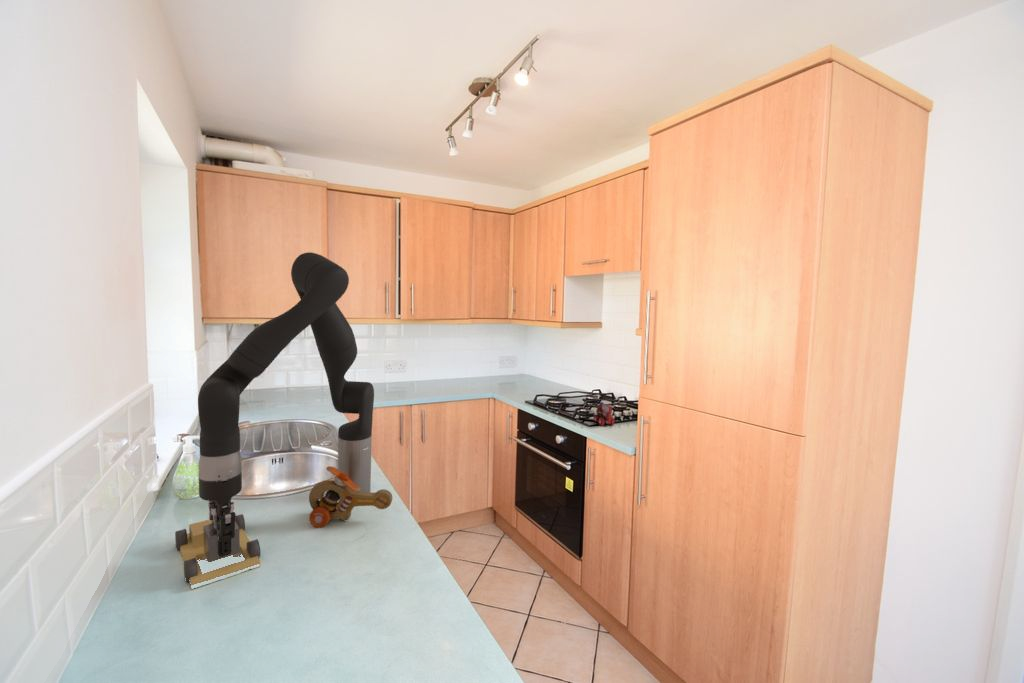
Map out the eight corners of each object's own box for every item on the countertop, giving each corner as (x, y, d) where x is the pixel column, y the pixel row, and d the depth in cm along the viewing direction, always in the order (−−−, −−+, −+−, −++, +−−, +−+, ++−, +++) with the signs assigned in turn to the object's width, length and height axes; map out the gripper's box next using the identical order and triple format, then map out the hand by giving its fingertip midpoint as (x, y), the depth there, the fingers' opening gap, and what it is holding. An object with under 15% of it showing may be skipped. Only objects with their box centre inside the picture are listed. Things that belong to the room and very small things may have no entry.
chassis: (174, 543, 101) (174, 524, 101) (240, 525, 110) (240, 507, 109) (188, 591, 86) (187, 569, 85) (262, 566, 95) (262, 546, 94)
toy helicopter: (315, 512, 118) (315, 462, 117) (394, 512, 120) (395, 464, 119) (303, 528, 110) (304, 475, 109) (388, 528, 112) (390, 476, 111)
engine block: (203, 550, 94) (203, 525, 94) (233, 541, 98) (233, 517, 97) (208, 562, 90) (208, 536, 90) (239, 552, 94) (239, 528, 94)
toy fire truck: (603, 420, 224) (605, 399, 223) (615, 427, 212) (617, 406, 211) (591, 420, 222) (592, 400, 221) (602, 427, 210) (604, 406, 209)
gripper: (193, 465, 95) (194, 539, 97) (205, 488, 85) (206, 571, 86) (233, 457, 100) (234, 528, 102) (249, 479, 90) (250, 557, 91)
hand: (221, 548), depth 94 cm, fingers closed on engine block, 5 cm apart
